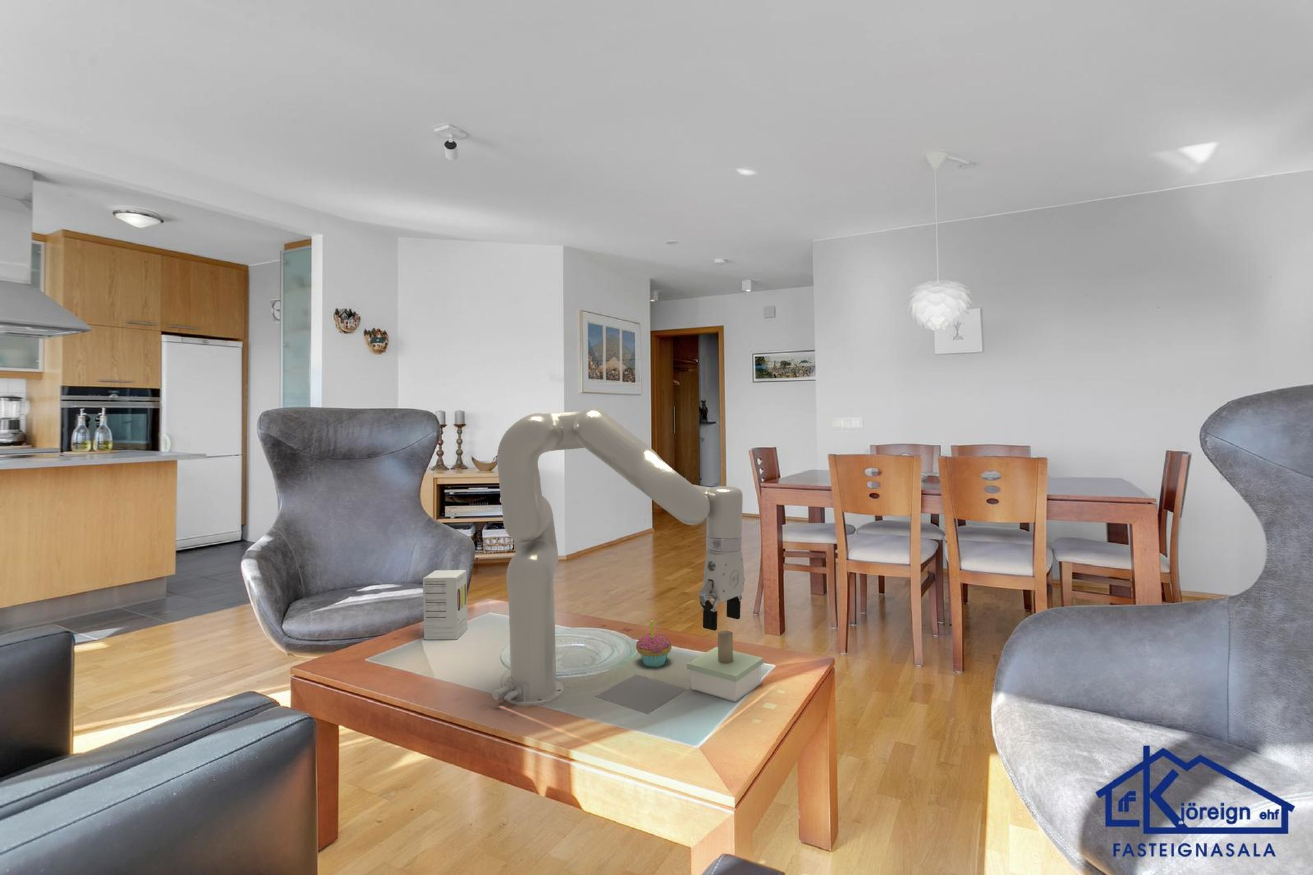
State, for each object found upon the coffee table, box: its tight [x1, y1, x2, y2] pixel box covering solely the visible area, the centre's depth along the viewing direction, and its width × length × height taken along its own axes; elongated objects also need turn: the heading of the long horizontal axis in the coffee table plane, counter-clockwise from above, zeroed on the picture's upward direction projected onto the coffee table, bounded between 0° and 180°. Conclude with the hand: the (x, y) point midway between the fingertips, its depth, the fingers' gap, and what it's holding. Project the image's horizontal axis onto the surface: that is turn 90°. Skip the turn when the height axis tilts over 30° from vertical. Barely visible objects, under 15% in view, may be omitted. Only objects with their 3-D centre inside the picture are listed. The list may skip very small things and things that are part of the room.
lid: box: [686, 630, 764, 682], centre depth 139 cm, size 12×12×7 cm
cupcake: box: [635, 617, 673, 667], centre depth 153 cm, size 9×8×12 cm
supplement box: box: [422, 569, 469, 641], centre depth 177 cm, size 10×9×17 cm
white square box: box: [689, 665, 762, 703], centre depth 139 cm, size 11×11×5 cm
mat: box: [594, 673, 688, 715], centre depth 137 cm, size 14×14×1 cm
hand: (721, 623), depth 139 cm, fingers open, 9 cm apart
